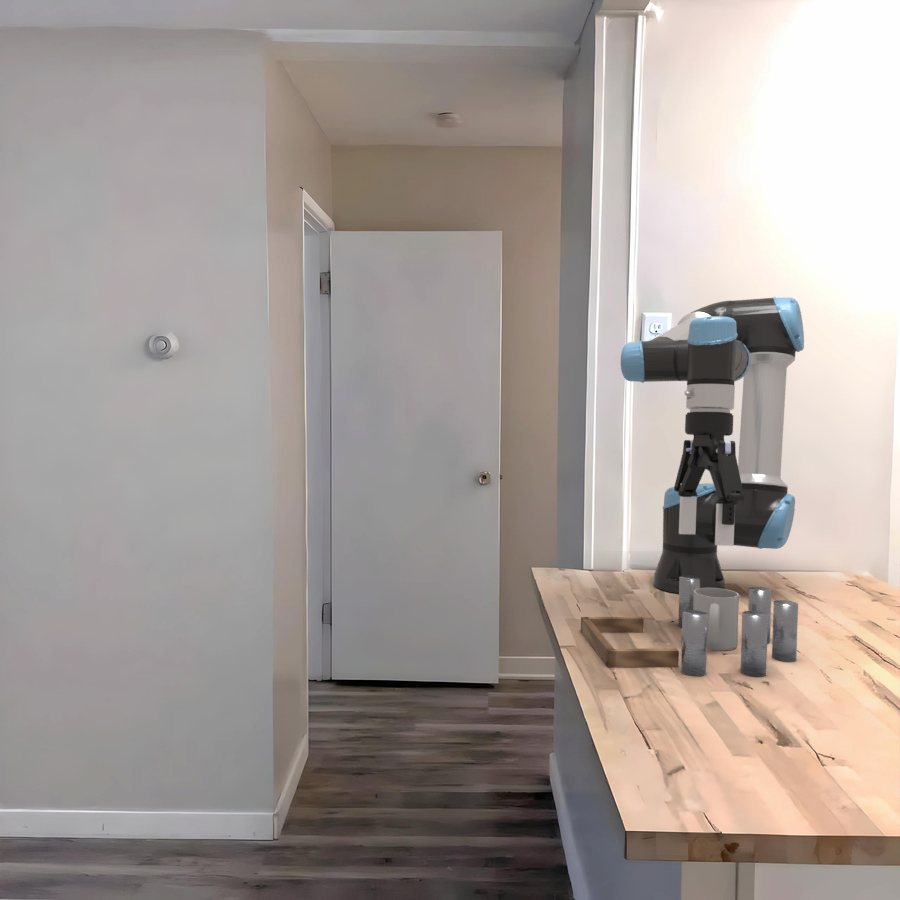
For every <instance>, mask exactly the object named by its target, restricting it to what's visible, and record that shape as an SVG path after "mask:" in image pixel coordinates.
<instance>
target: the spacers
mask: <svg viewBox="0 0 900 900" xmlns="http://www.w3.org/2000/svg"><path fill="white" fill-rule="evenodd" d="M698 588H700V578H699V577H695V576H680V577H679V593H678V617H677V618H678V621H677V622H678V625H677V626H678V627H680V628H681V660H680V661H681V662H680V663H681V667H680V671H681V673H682V674H684V675H687V676H690V677H691V676H692V677H704V676H706V674H707V659H708V658H707V656H708V655H707V653H708V649H707V622H708V614H707V613H705V612H702V611H695V610H693V600H694V590H695V589H698ZM772 591H773V590H772V589H770V588H768V587H762V586H751V587H749V588H748V609H747V610H745V611H743V612H741V638H740V639H741V642H740V643H741V644H740V646H741V647H740V673H741V674H743V675H744V676H748V677H755V678H762V677H763V678H764V677H765V676H766V675H767V660H768V659H767V658H768V655H767V654H768V644H770V643H772V644H771V645H772V646H771V657H772V659H774V660H775V661H779V662H784V663H786V662H787V663H793V662H797V652H798V651H797V649H798V647H797V646H798V625H799V624H798V621H799V603H798V602H796V601H793V600H787V599H777V600H774V601H773V611H772ZM772 613H773V614H772ZM772 615H773V616H772ZM771 617H773V618H771ZM771 619H772V620H771ZM771 622H772V626H771ZM771 627H772V642H771Z"/></svg>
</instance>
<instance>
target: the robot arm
mask: <svg viewBox="0 0 900 900" xmlns="http://www.w3.org/2000/svg"><path fill="white" fill-rule="evenodd" d="M804 331H805V330H804V324H803V317H802V312H801V307H800V305H799V302H798V300H796V299H795V298H793V297H789V296H788V297H776V296H773V297H766V298H765V297H764V298H753V299H739V300H723V301H719V302H713V303H711V304H708V305H706V306H702V307H699V308H698V309H696V310H693V311H691V312H690V313H688V314H687V313H686V315H684V316H683V317H682V318H681V319H680V320H679V321H678V323H677V325H676V326H675V325H674V327H672V328H669V330H668V329H667V331H665V332H662V333H661V334H659V335H657V336H656V337H654V338H653V339H651V340H637V341H631V342H630V341H629V342H627V343H625V344H624V345H623V348H622V349H621V354H620V371H621V374H622V377H623V378H624V379H625V380H626V381H628V382H639V383H642V384H643V383H647V382H649V383H651V382H653V383H655V382H686V390H685V391H684V396H686V401H685V405H686V407H685V408H686V409H687V410H689V412H686V414H685V419H684V421H685V423H684V432H685V434H686V435H689V436H690V435H691V436H693V439H691V440H690V439H685V440H683V446H682V447H683V449H682V455H681V458H680V463H679V467H678V471H677V474H676V475H677V476H676V479H675V482H674V486H670V487H669V488H667V489H666V490H665V492H664V497H663V506H662V510H663V516H662V517H663V518H662V519H663V520H662V525H663V526H662V551H661V555H660V557H659V560H658V563H657V566H656V568H655V572H654V575H653V586H654V587H655V588H658V589H660V590H662V591H666V592H669V593H675V594H679V577H680V576H695V577H699V578H700V588H721V589H726V588H725V585H726V584H725V583H726V582H725V577H724V573H723V570H722V568H721V564H720V561H719V558H718V546H721V547H723V546H725V547H727V546H729V547H730V546H737V547H747V548H755V549H756V548H757V549H770V550H771V549H775V550H776V549H781V548H782V547H784V546H785V545H786V543H787V542H788V539H789V537H790V533H791V530H792V526H793V521H794V518H795V517H794V516H795V510H796V509H795V507H796V505H795V504H796V498H795V496H794V495H792V494H791V493H788V487H789V486H788V485H787V484H786V483H785V481H783V479H782V478H781V476H782V475H781V473H782V472H781V471H782V457H783V456H782V455H783V441H784V440H783V438H784V423H785V422H784V420H785V405H786V404H785V402H786V386H787V373H788V372H787V370H788V367H789V366H790V365H791V364H793V363H794V362H795V361H796V352H797V353H799V352H801V351H803V350H804V349H805V335H804V333H805V332H804ZM741 379H743V380H742V381H743V382H742V396H741V397H742V398H741V410H740V411H741V412H740V413H741V415H740V425H739V426H740V429H739V442H738V443H739V445H738V460H737V455H736V453H737V452H736V450H737V449H736V441H735V440H725V437H728V436H732V434H733V433H734V414H733V413H731V411H733V410H734V409H735V392H736V391H735V390H736V388H735V387H736V385H735V382H737V381H739V380H741ZM706 470H707V471H709V475H710V476H711V479H712V482H711V483H709V482H708V483H700V482H701V480H702V479H703V478H702V477H703V475H704V473H705V471H706Z"/></svg>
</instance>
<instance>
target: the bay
mask: <svg viewBox="0 0 900 900" xmlns="http://www.w3.org/2000/svg"><path fill="white" fill-rule="evenodd" d="M644 620H645V619H644V617H643V616H581V617H580V632H582V634H583V635H584V637H585V638H586V640H587V639H588V640H587V641H588V643H591V644H590V645H591V646H592V648H593V647H594V648H593V649H594V650H595V652H596V651H597V652H596V653H597V655H598V656H599V657H600V658H601V660H602V661H603V663H604V664H605V666H606V667H607V668H665V667H666V668H668V667H669V668H672V667H673V668H674V667H677V668H678V667H679V661H680V659H679V656H680V655H679V654H680V652H679V651H680V650H679V649H677V648H676V647H675V648H671V647H670V648H669V647H668V648H667V647H666V648H659V647H658V648H614V647H613V646H612V644H611V643H610V642H609V640H608V639H607V638H606V637H605V636H604V635H603V634H602V633H644V625H645V624H644V623H645V621H644Z"/></svg>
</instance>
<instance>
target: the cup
mask: <svg viewBox="0 0 900 900" xmlns="http://www.w3.org/2000/svg"><path fill="white" fill-rule="evenodd" d="M739 601H740V594H739V593H738V592H737V591H734V590H731V589H727V588H724V589H721V588H698V589H695V590H694V600H693V610H695V611H702V612H705V613H707V614H708V622H707V651H716V652H727V651H729V652H730V651H732V650H735V649H736V648H737V646H738V642H739V641H738V637H739V607H740V606H739V604H740V602H739Z"/></svg>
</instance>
